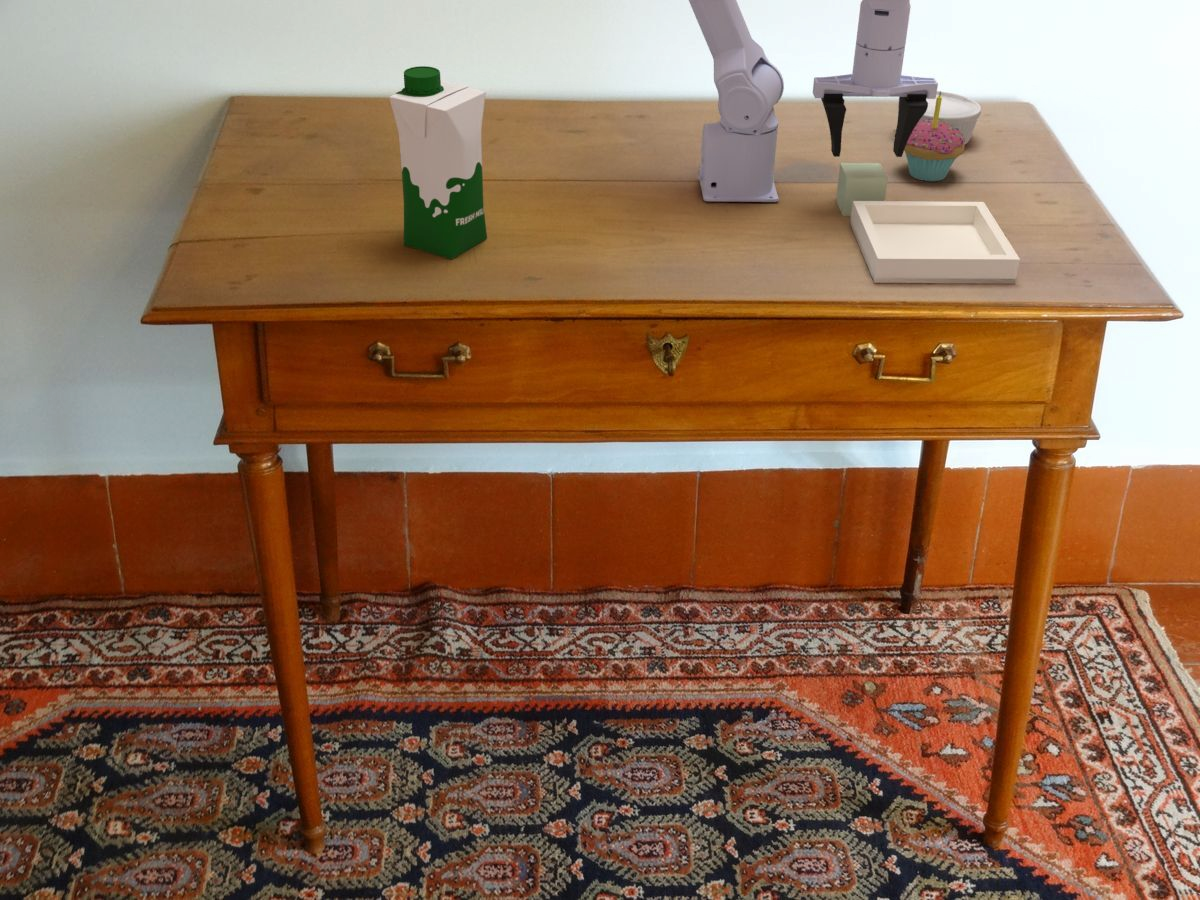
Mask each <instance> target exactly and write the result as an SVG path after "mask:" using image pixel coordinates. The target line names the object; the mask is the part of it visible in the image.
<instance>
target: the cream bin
mask: <svg viewBox="0 0 1200 900" xmlns="http://www.w3.org/2000/svg"><path fill="white" fill-rule="evenodd" d="M849 224H850V225H849V226H850V227H851V230H852V233H853V234H854V237H855V239H856V241H857V244H858V247H859V248H860V252H861V253H862V257H863V258H864V260H865V263H866V265H867V268H868V271H869V273H870V275H871V278H872V280H873V282H874V283H875V284H1005V285H1006V284H1010V285H1012V284H1013V285H1014V284H1016V281H1017V276H1018V271H1019V266H1020V262H1021V259H1020V257H1019V255H1018V254H1017V252H1016V250H1015V249H1014V247H1013V246H1012V244H1011V242H1010V240H1009V239H1008V238H1007V237H1006V235H1005V233H1004V231H1003V230H1002V229H1001V227H1000V226H999V225H1000V224H998V222H997V221H996V219H995V217H994V216H993V214H992V213H991V210H989V208H988V206H987V205H986V203H985V201H929V200H927V201H922V200H921V201H919V200H918V201H917V200H916V201H914V200H913V201H912V200H911V201H909V200H908V201H904V200H897V201H896V200H895V201H894V200H891V201H890V200H887V201H886V200H885V201H853V204H852V212H851V216H850V223H849Z"/></svg>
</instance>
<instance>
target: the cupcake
mask: <svg viewBox="0 0 1200 900" xmlns="http://www.w3.org/2000/svg"><path fill="white" fill-rule="evenodd" d="M939 91H940V92H939V96H937V99H936V105H935V111H934V117H933V119H932V120H930V119H928V120H921V121H920V122H918V123H917V125H916V126H915V128H914V130H913V131H912V133H911V135H910V137H909V139H908V141H907V144H906V146H905V149H904V153H905V156H906V160H907V166H908V172H909V175H910V176H911V177H912V176H913V178H914V179H916V178H917V180H919V181H923V180H925V181H926V182H938V181H942V180H944V179H945V178H946V177H947V175H948V173H949V171H950V169H951V167H952V165H953V164H954V162H955V161H956V159H957V158H958V157H959V156H961V155H963V154H964V152H965V145H964V142H965V138H964V137H963V134H961V133H960V131H958V129H956V128H955V127H953V126H952V125H951V126H950V125H948V123H946V122H943V121H939V120H938V118H939V113H940V107H941V101H942V96H941V92H942V91H941V90H939ZM925 181H924V182H925Z"/></svg>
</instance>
